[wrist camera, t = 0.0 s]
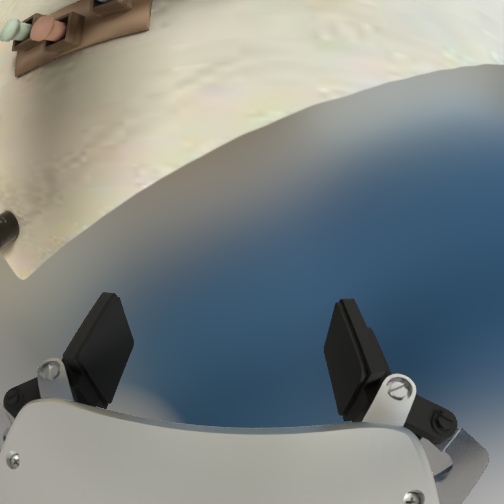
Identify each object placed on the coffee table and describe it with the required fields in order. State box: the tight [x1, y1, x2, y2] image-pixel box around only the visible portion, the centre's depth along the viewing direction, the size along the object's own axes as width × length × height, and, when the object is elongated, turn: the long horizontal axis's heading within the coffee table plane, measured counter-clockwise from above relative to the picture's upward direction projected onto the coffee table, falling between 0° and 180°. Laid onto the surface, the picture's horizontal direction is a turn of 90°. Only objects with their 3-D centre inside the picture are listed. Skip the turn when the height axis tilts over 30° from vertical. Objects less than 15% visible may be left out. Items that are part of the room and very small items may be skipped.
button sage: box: [0, 19, 32, 42], centre depth 18 cm, size 4×4×6 cm
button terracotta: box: [30, 15, 67, 42], centre depth 20 cm, size 4×4×6 cm
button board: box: [12, 0, 152, 77], centre depth 23 cm, size 10×29×5 cm, turn 89°
